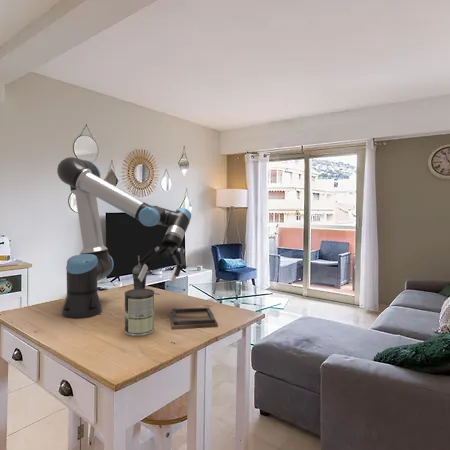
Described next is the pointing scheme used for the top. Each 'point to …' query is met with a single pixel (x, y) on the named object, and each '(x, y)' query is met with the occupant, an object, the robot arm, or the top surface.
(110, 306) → the top surface
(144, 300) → the coffee can
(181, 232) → the robot arm
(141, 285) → the beverage cup
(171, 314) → the walnut board
